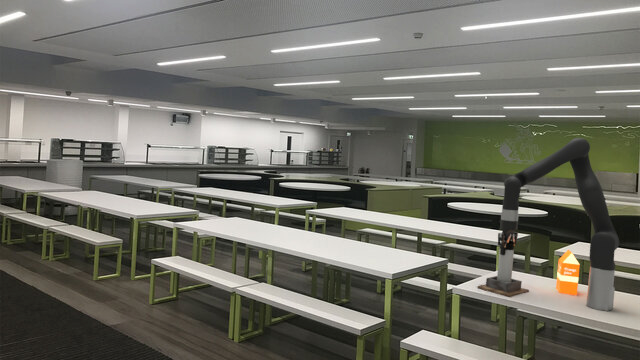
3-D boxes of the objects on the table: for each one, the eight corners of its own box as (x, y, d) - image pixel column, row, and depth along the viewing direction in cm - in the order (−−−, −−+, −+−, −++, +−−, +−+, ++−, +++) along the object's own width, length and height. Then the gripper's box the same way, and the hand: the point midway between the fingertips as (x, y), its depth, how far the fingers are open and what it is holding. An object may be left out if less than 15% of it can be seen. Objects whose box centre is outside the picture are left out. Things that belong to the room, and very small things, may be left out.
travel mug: (514, 285, 220) (518, 243, 219) (503, 285, 217) (507, 243, 216) (504, 281, 226) (508, 240, 225) (493, 282, 223) (497, 240, 222)
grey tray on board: (528, 291, 221) (529, 281, 221) (509, 297, 210) (510, 286, 209) (497, 283, 233) (498, 273, 233) (477, 288, 222) (478, 277, 222)
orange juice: (559, 292, 223) (562, 251, 222) (555, 288, 232) (559, 248, 231) (577, 295, 221) (581, 253, 220) (573, 290, 229) (577, 250, 228)
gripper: (509, 221, 212) (505, 257, 213) (524, 219, 221) (521, 254, 222) (493, 218, 218) (490, 254, 219) (509, 217, 227) (506, 251, 228)
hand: (506, 254), depth 221 cm, fingers closed on travel mug, 6 cm apart
